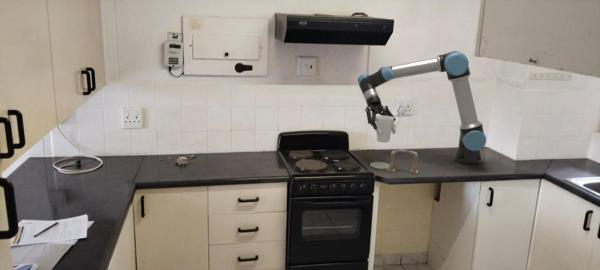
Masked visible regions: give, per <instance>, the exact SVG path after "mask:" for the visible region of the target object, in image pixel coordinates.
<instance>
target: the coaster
mask: <svg viewBox="0 0 600 270" xmlns="http://www.w3.org/2000/svg"><path fill="white" fill-rule="evenodd" d="M369 167H371V168H373V169H379V170H387V169H390V163H387V162H381V161H374V162H370V164H369Z"/></svg>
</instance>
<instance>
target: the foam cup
mask: <svg viewBox="0 0 600 270" xmlns="http://www.w3.org/2000/svg"><path fill="white" fill-rule="evenodd" d="M394 118H395V116H394V117H391V116H382V115H376V121H375V123H376V122H377V124H378V126H379V128H380V131H381V134H380V135H379V136H378V135H377V134H376V141H377V142H378V143H389V142H390V137H391V135H392V131H391V130H392V126H393V123H394V124H395V121H394Z"/></svg>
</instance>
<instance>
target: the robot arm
mask: <svg viewBox="0 0 600 270" xmlns="http://www.w3.org/2000/svg"><path fill="white" fill-rule="evenodd" d="M469 66H470V65H469V58H468V57H467V56H466V54H464V53H463V52H461V51H458V50H453V51H449V52H447V53H443V54H439V55H437V56H436V57H433V58H428V59H427V58H426V59H422V60H421V59H420V60H417V61H411V62H406V63H401V64H396V65H392V66H383V67H380V68H379V69H378V70H377V71H376V72H374V73H372V74H369V73H362V74H360V75H359V76H358V78H357V83H358V86H359V89H360V92H362V95H363V98H364V100H365V102H366V104H367V106H366V107H365V109H364V111H365V112H366V118H367V120H366V121H367V124H368V125H370V126H372V128H373V130H375V132H376V136H377V135H378V136H379V135H380V134H381V131H380V128H379V126H378V124H377V122H376V116H377V115H379V116H391V117H394V123H393V126H392V130H391V134H392V135H396V133H397V132H398V131H397V129H396V124H395V122H396V121H397V119H396V118H395V116H394V115H393V113H392V112H391V110H390V109H389V107H388V105H385V106H384V105H382V100H381V98H380V95H379V94H378V93H379V92H378V91H377V89H376V88H378V87H379V86H381V85H383V84H385V83H387V82H390V81H392V80H395V79H401V78H407V77H412V76H417V75H424V74H429V73H435V72H439V73H446V77H447V79H448V81H449V82H451V85H452V88H453V89H452V90H453V93H454V97H455V100H456V101H455V102H456V106H457V110H458V114H459V119H460V122H461V123H460V127H459V139H458V147H457V149H456V152H455V154H454V156H453V160H454V161H455V162H457V163H460V164H466V165H480V164H481V163H482V153H481V150H482V149H483V148H484V147H486V143H487V135H485V131H484V125H483V123H482V122H481V121H480V120H479V118H478V115H477V111H476V107H475V102H474V101H475V100H474V97H473V94H472V89H471V85H470V84H471V83H470V80H469V77H470V76H471V72H470V67H469Z"/></svg>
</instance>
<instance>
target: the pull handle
mask: <svg viewBox="0 0 600 270" xmlns="http://www.w3.org/2000/svg"><path fill="white" fill-rule="evenodd" d="M401 152H404V153H409V154H413V160H412V162H413V163H412V169H409V172H410V174H419V171H418V170H417V167H418V166H417V165H418V153H417V151H413V150H408V149H403V148H402V149H397V150H391V152H390V159H389V165H390V168H388V169H386V170H387V173H396V169H395V168H394V163H395V162H394V161H395V154H396V153H401Z"/></svg>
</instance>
